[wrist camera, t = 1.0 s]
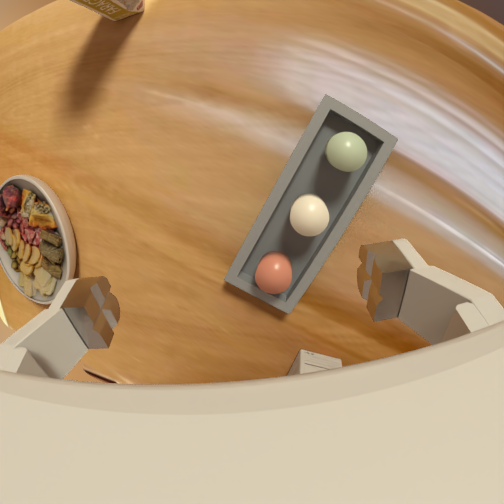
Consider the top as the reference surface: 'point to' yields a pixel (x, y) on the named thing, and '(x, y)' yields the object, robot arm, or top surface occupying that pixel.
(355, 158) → the sage button
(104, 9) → the juice carton
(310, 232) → the cream round piece
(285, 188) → the grey rectangular tray
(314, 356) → the supplement box
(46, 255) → the bowl
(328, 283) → the top surface
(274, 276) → the brick button
